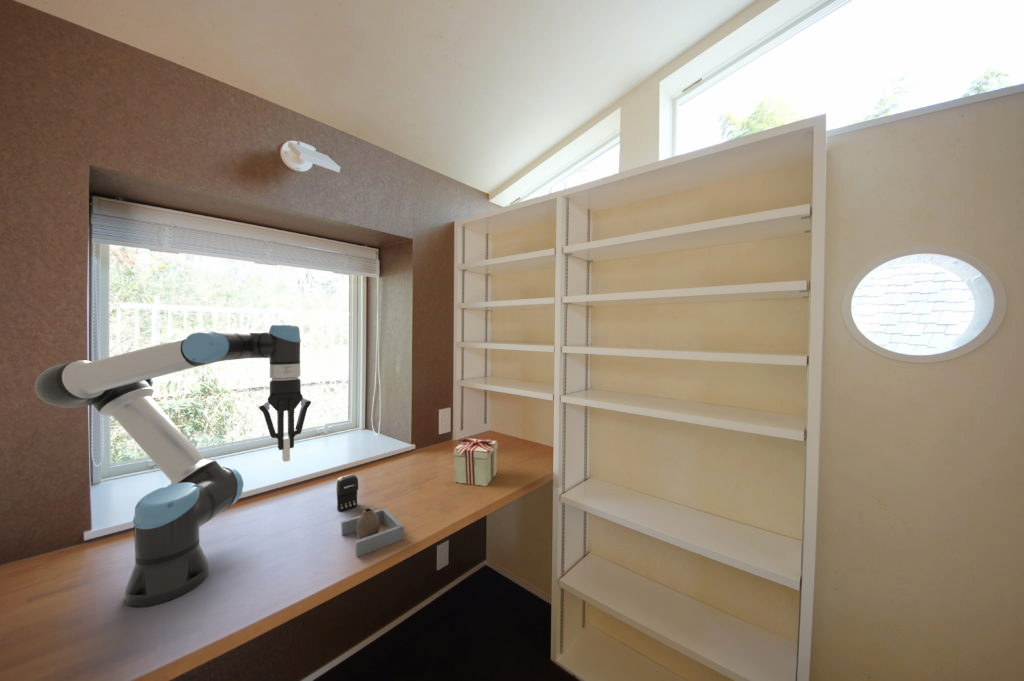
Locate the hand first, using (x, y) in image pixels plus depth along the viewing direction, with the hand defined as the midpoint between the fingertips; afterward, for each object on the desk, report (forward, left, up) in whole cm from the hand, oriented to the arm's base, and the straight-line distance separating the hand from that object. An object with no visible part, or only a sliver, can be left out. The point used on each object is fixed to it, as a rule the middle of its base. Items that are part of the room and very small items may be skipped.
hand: (286, 459), depth 105 cm
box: (+21, -9, -26) cm, 35 cm away
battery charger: (+21, +15, -27) cm, 37 cm away
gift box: (+71, +6, -27) cm, 76 cm away
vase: (+20, -9, -27) cm, 34 cm away
